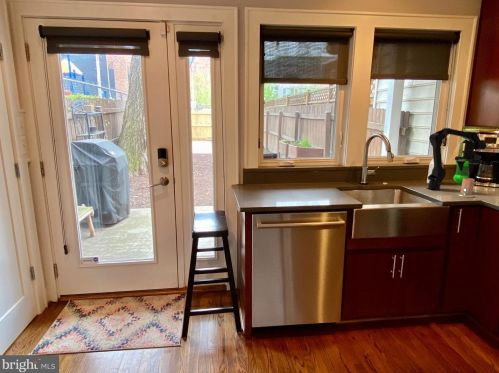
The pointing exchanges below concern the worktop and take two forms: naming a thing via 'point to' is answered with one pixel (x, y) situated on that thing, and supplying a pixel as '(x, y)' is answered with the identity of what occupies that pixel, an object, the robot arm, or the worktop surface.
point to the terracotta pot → (467, 185)
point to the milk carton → (431, 168)
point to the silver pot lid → (465, 194)
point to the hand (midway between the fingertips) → (465, 171)
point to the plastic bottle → (461, 172)
